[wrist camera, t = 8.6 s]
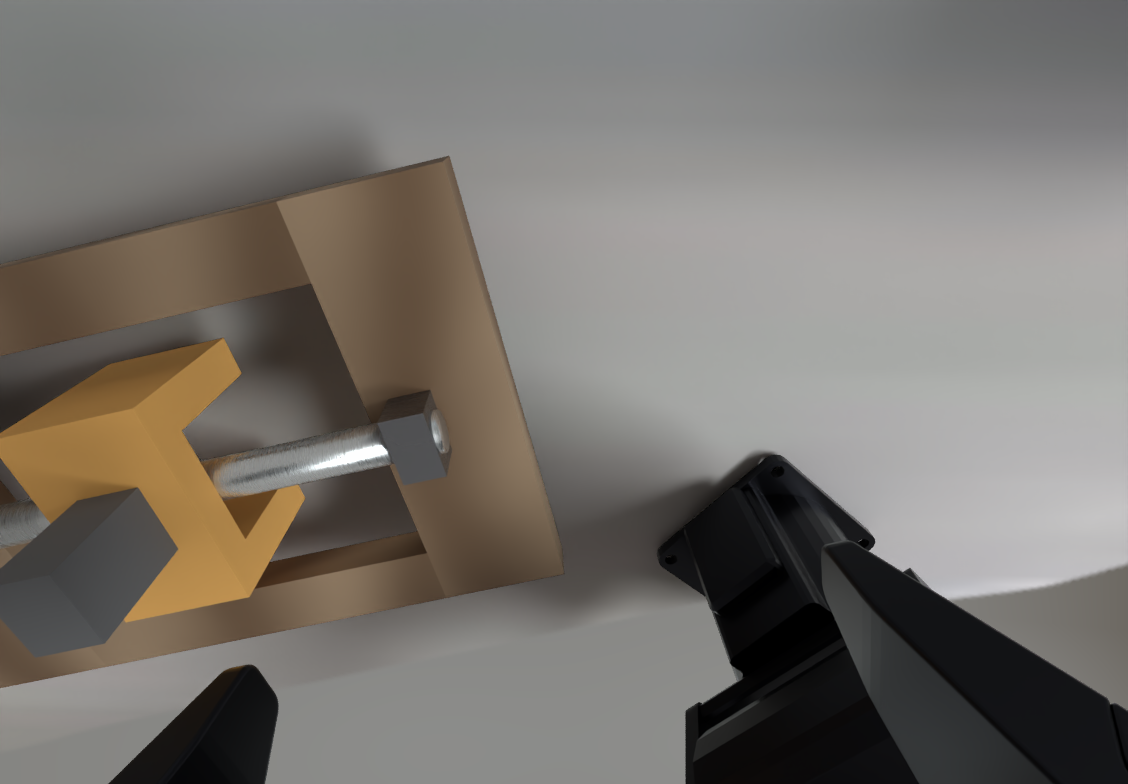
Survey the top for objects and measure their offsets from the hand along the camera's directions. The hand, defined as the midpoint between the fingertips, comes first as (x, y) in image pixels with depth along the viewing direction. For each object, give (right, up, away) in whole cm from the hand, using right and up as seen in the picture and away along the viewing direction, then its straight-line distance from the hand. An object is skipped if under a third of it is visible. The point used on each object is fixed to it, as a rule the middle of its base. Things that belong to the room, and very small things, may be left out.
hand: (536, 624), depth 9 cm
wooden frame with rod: (-11, +3, +11) cm, 16 cm away
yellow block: (-11, +2, +10) cm, 15 cm away
